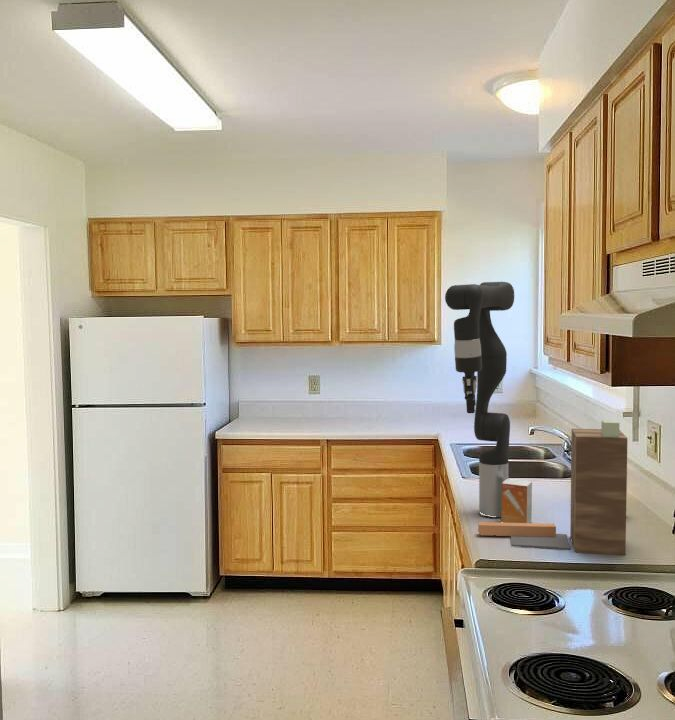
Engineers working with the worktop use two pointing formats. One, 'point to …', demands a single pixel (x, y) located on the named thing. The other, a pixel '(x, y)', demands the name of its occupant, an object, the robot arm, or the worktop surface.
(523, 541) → the mat
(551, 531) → the brown block
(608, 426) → the sage block
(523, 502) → the small box
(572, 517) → the stand
